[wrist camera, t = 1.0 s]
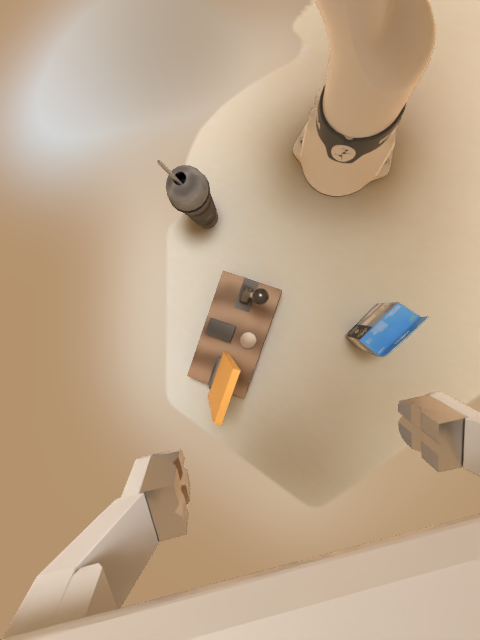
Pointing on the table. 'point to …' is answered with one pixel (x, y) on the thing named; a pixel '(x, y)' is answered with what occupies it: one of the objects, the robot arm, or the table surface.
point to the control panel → (234, 330)
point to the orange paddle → (222, 386)
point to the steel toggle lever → (254, 295)
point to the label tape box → (384, 328)
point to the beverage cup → (191, 194)
